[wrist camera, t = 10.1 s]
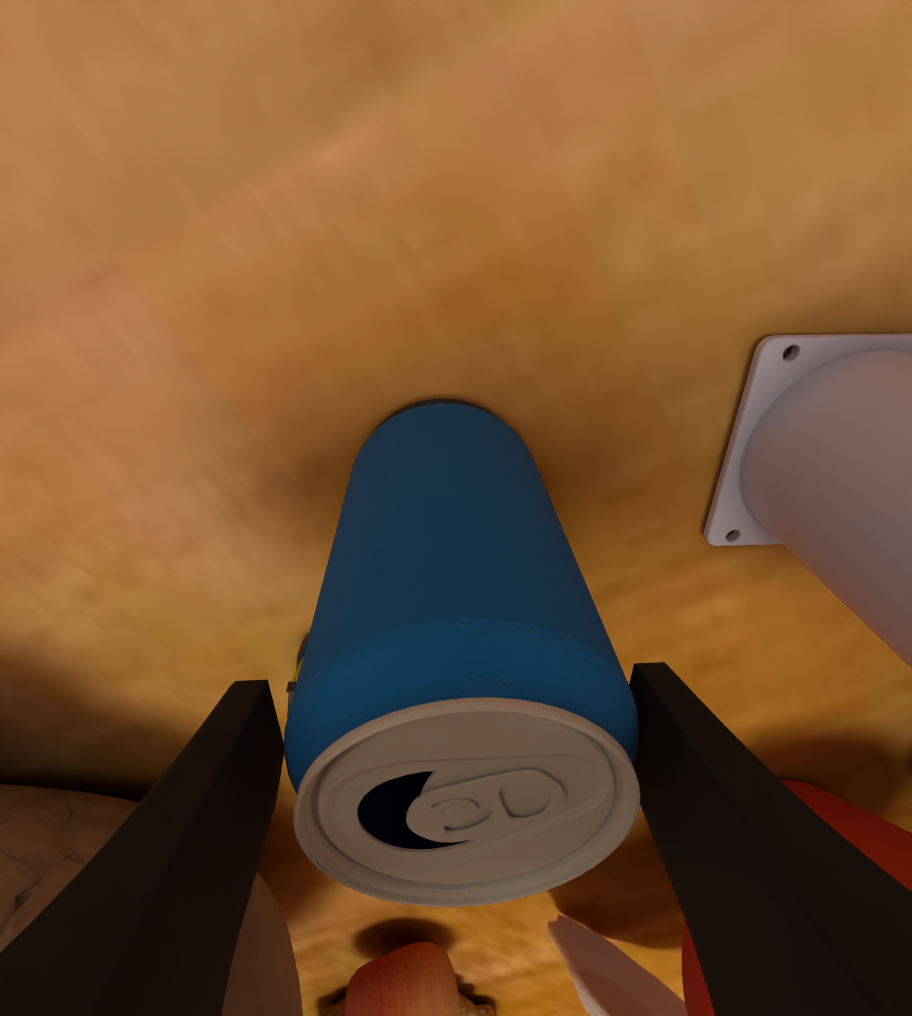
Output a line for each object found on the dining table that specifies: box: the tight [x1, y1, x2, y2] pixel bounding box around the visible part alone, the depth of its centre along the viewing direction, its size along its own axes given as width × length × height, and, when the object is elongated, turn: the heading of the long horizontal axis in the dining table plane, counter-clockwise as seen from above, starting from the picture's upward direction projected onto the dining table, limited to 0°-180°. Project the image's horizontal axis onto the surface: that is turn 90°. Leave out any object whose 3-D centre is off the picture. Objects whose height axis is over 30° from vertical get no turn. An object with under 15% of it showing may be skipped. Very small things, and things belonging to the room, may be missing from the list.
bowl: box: [0, 785, 303, 1016], centre depth 26 cm, size 28×28×10 cm
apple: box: [346, 932, 458, 1016], centre depth 35 cm, size 7×7×8 cm
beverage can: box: [284, 404, 641, 907], centre depth 14 cm, size 6×6×12 cm
